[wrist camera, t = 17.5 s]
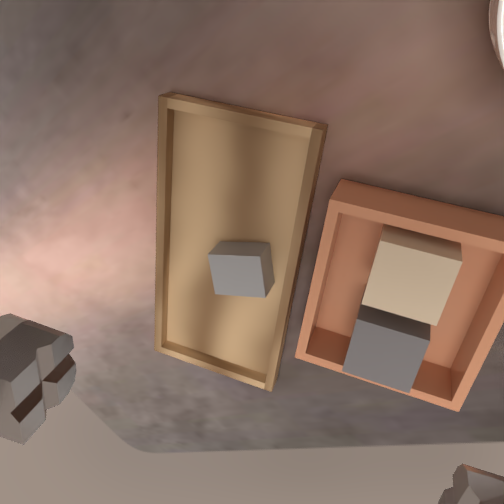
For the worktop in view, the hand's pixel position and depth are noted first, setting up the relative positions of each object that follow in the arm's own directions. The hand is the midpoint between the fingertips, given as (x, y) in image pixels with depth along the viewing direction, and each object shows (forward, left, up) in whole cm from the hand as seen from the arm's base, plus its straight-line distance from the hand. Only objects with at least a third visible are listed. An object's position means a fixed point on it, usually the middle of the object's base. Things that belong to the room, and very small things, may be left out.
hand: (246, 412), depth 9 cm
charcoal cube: (+4, -10, -20) cm, 22 cm away
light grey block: (-6, -9, -20) cm, 22 cm away
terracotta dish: (+4, -7, -20) cm, 22 cm away
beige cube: (+4, -5, -20) cm, 21 cm away
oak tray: (-8, -9, -20) cm, 23 cm away
